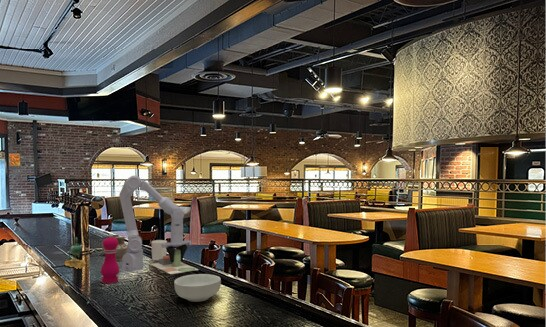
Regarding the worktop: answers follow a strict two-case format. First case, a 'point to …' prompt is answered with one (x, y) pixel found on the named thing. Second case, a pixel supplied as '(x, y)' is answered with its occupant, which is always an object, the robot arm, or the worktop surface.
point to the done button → (166, 258)
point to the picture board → (171, 269)
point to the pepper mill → (110, 260)
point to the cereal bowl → (197, 286)
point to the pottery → (119, 247)
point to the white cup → (158, 249)
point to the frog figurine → (75, 251)
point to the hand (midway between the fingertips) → (176, 261)
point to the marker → (177, 258)
